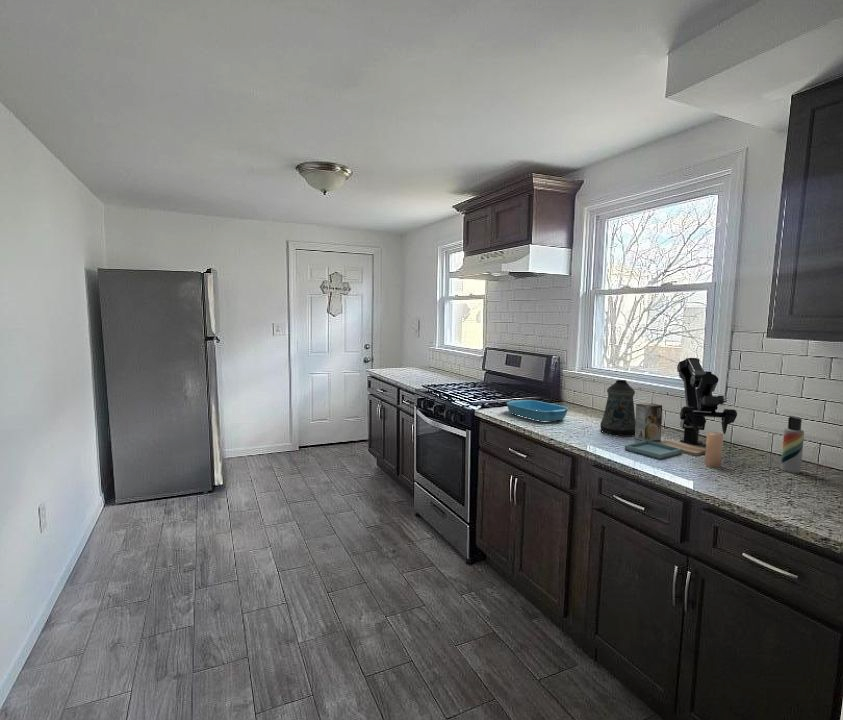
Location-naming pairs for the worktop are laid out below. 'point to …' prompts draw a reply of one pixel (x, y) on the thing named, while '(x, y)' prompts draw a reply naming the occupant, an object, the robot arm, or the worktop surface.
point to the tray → (653, 449)
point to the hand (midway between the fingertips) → (710, 432)
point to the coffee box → (648, 422)
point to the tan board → (685, 447)
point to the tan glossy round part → (713, 449)
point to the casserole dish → (543, 410)
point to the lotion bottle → (792, 446)
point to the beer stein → (619, 410)
